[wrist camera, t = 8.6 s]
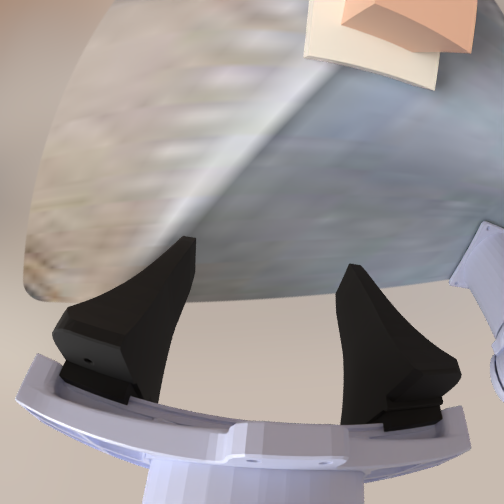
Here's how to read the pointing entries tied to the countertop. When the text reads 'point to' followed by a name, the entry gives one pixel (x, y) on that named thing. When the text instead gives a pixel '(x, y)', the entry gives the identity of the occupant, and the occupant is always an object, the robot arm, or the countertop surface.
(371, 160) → the countertop surface
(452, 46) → the terracotta brick
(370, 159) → the countertop surface
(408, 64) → the cream base brick
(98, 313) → the robot arm
